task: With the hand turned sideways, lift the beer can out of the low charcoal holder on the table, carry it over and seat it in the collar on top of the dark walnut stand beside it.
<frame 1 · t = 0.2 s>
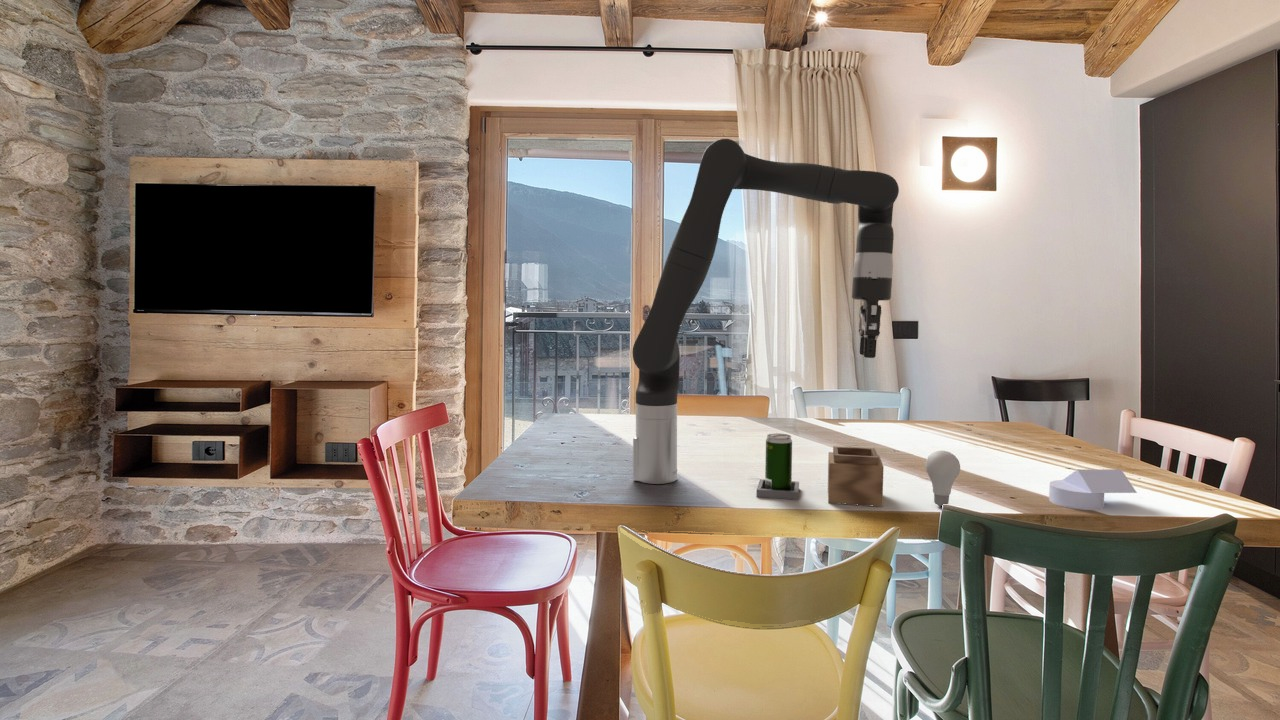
hand: (867, 356, 136), 28 cm above the table, tool pointing down, fingers open, 8 cm apart
walnut stand: (853, 497, 134), on the table
wedge on round base: (1085, 504, 131), on the table
charcoal holder: (778, 492, 138), on the table
beer can: (778, 493, 138), resting in charcoal holder
lightbulb: (941, 507, 128), on the table
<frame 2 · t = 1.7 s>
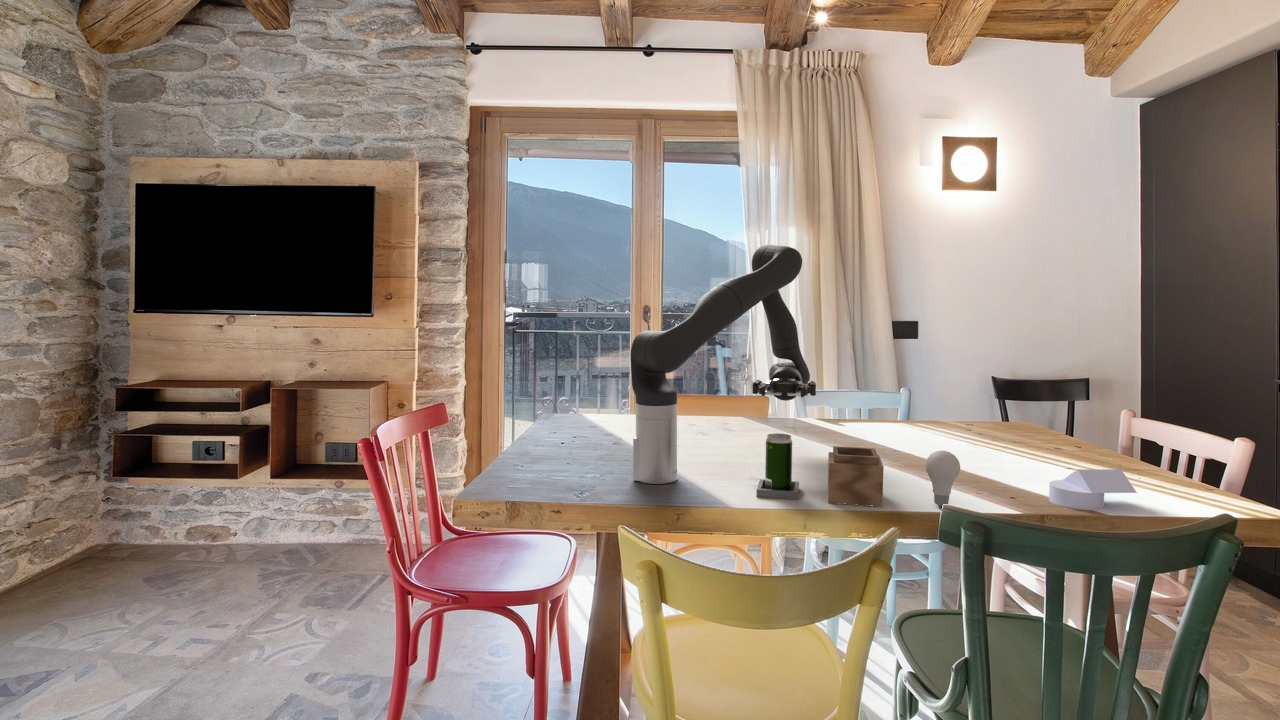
hand: (782, 392, 147), 20 cm above the table, tool horizontal, fingers open, 8 cm apart
nothing on the table moved.
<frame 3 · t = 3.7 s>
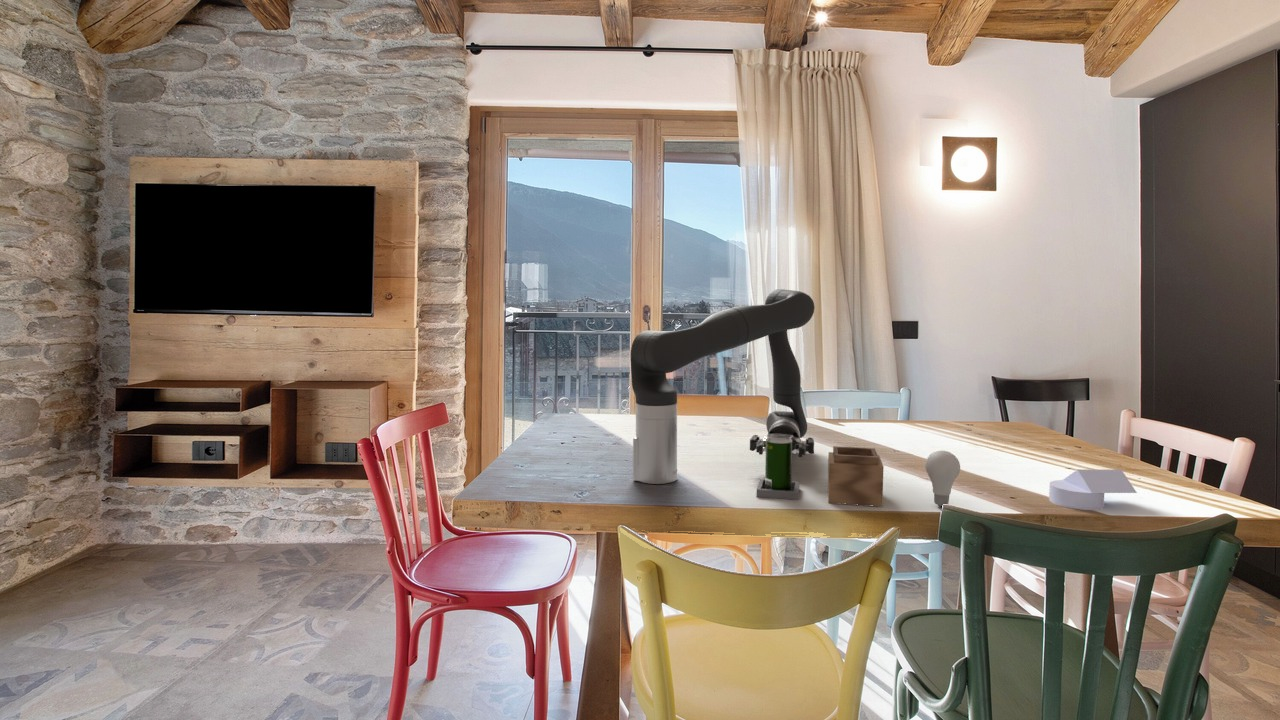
hand: (780, 451, 145), 7 cm above the table, tool horizontal, fingers open, 8 cm apart
nothing on the table moved.
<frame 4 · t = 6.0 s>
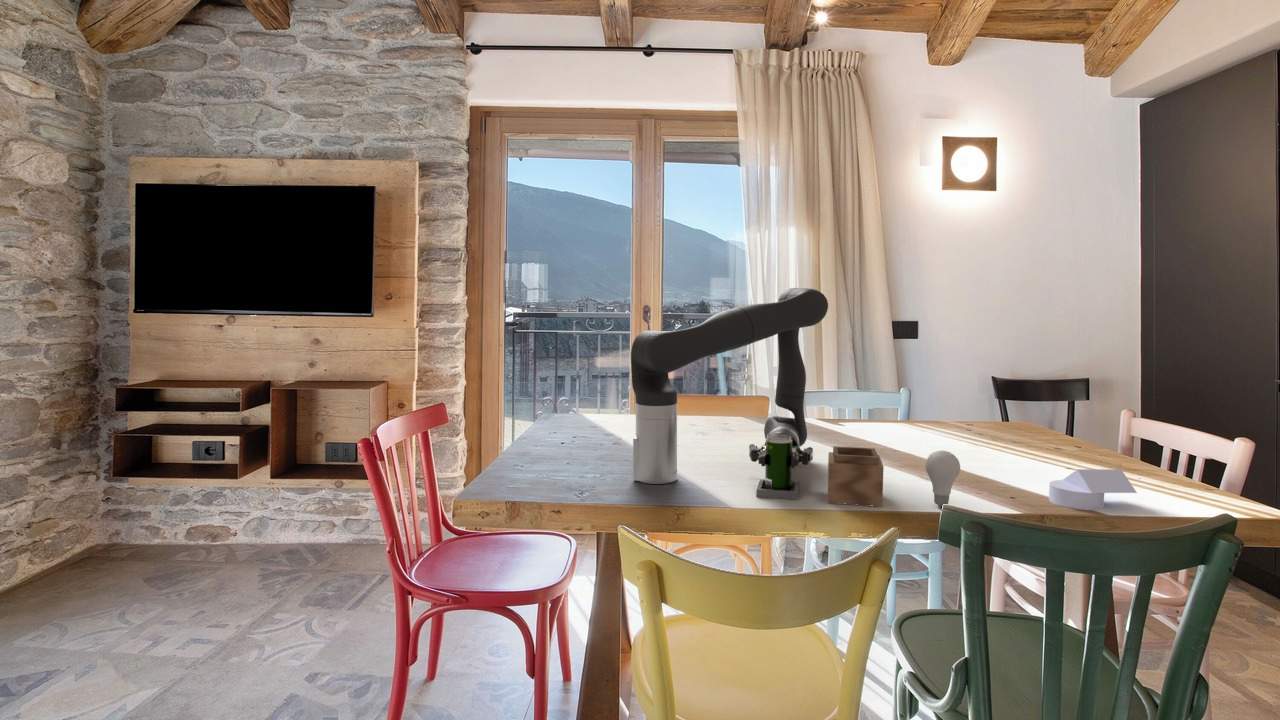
hand: (778, 462, 135), 7 cm above the table, tool horizontal, fingers closed on beer can, 5 cm apart
beer can: (778, 493, 138), resting in charcoal holder, touching gripper
everything else where it was.
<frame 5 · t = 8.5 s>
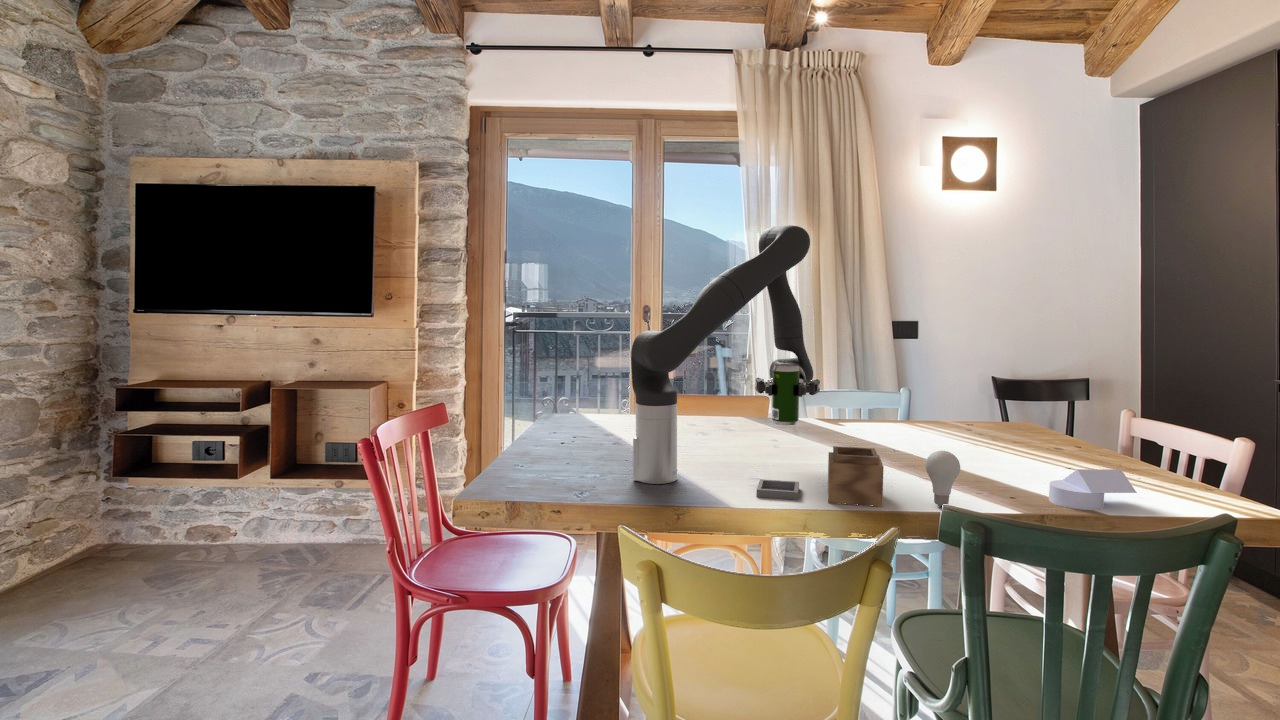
hand: (785, 391, 134), 22 cm above the table, tool horizontal, fingers closed on beer can, 5 cm apart
beer can: (785, 424, 137), point 14 cm above the table, touching gripper
everything else where it was.
when the fingers open (16 cm above the table, at t = 11.1 s): beer can drops 1 cm, resting on walnut stand.
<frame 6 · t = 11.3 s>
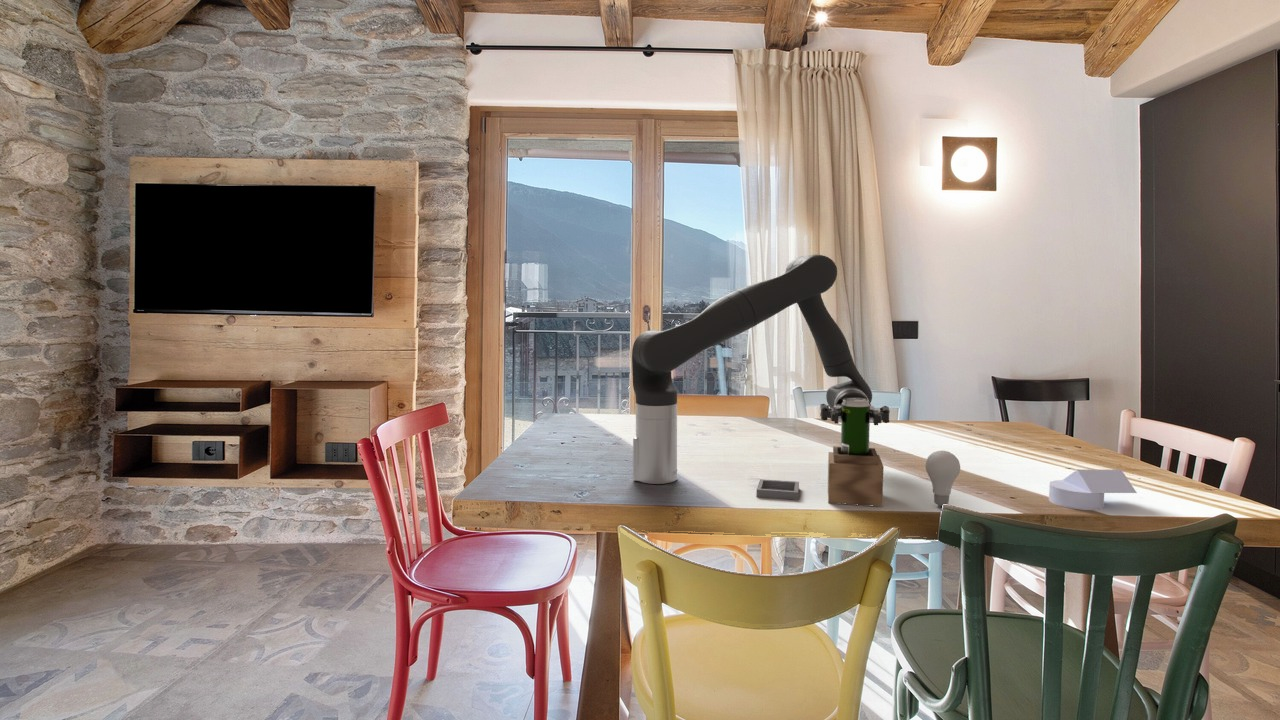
hand: (856, 419, 131), 16 cm above the table, tool horizontal, fingers open, 7 cm apart
beer can: (854, 459, 134), point 8 cm above the table, touching walnut stand
everything else where it was.
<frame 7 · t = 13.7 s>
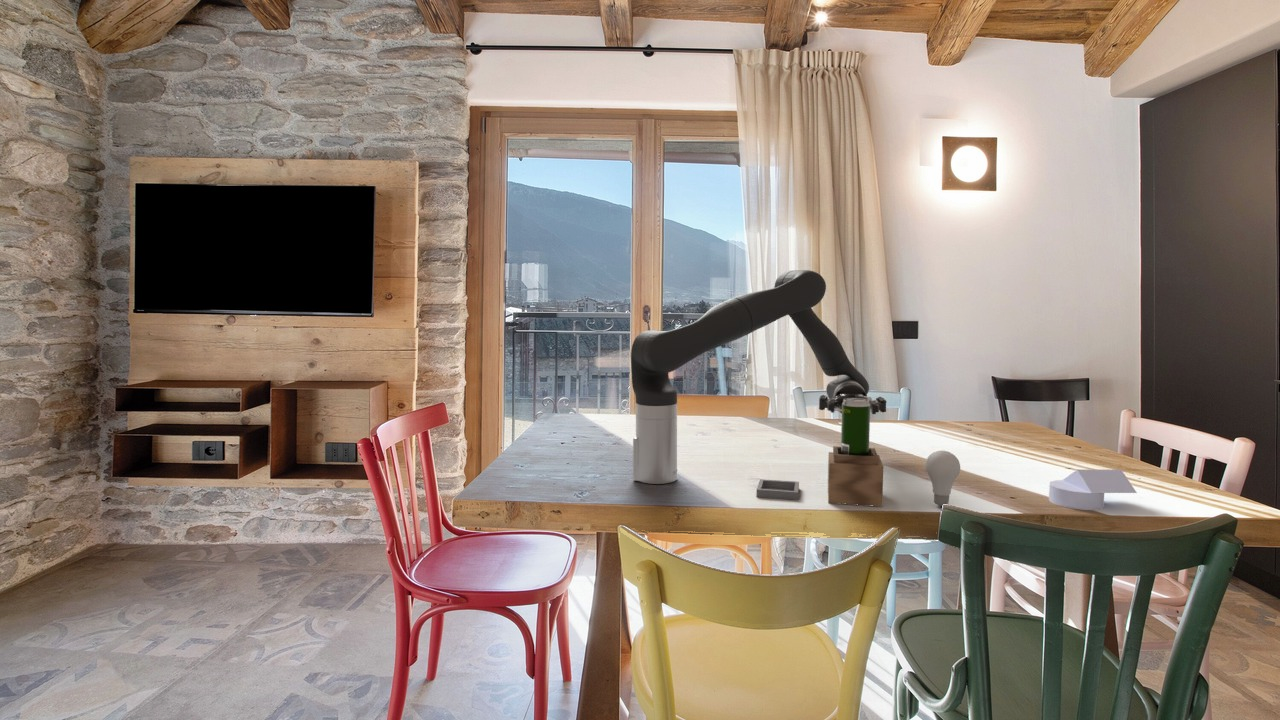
hand: (853, 408, 143), 17 cm above the table, tool horizontal, fingers open, 8 cm apart
nothing on the table moved.
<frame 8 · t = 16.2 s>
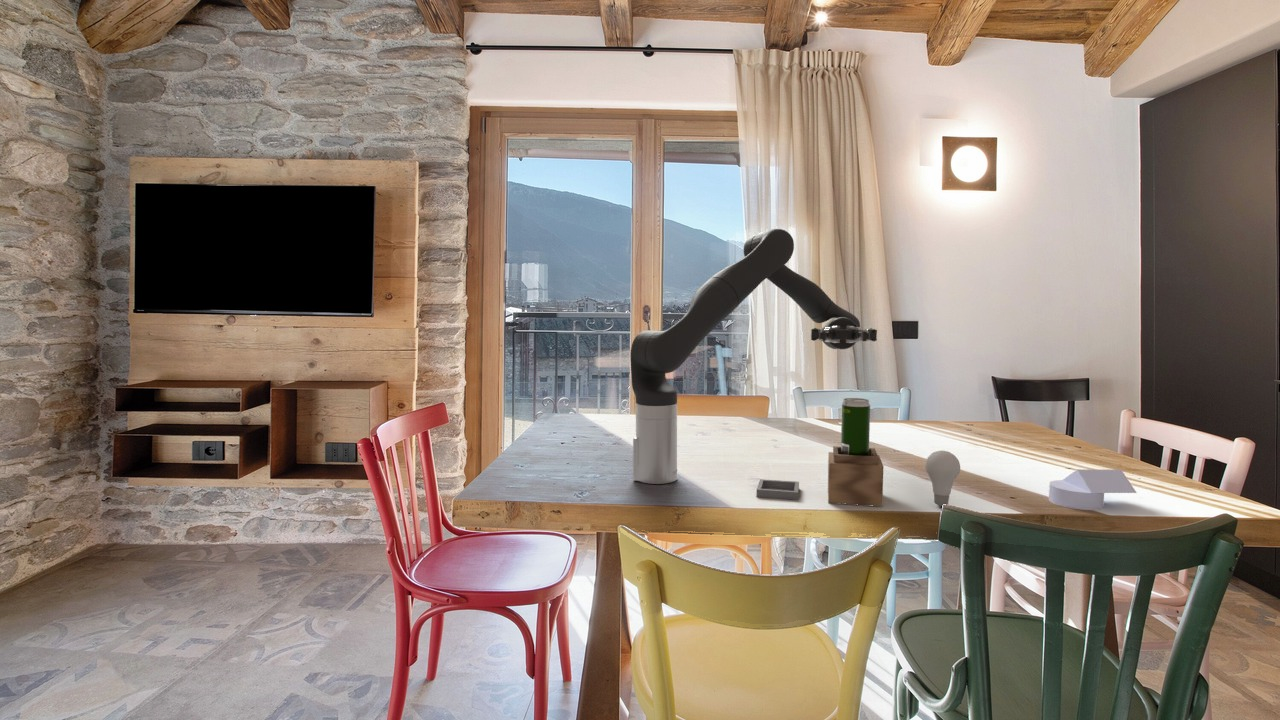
hand: (844, 336, 146), 32 cm above the table, tool horizontal, fingers open, 8 cm apart
nothing on the table moved.
at the end: beer can 0.2 cm off-centre on the walnut stand, point 7.8 cm above the walnut stand's base; beer can tilted 0°; the gripper is holding nothing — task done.
